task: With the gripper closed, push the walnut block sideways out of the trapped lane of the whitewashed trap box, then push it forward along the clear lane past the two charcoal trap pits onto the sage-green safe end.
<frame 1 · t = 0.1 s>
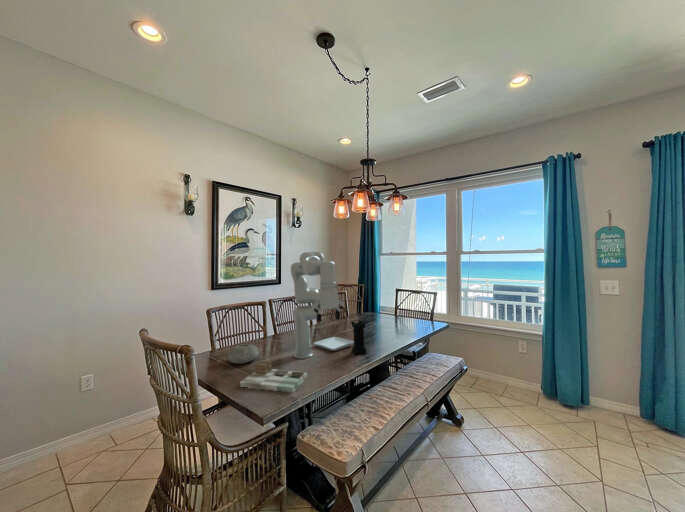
hand: (328, 320, 141), 31 cm above the table, tool pointing down, fingers open, 9 cm apart
walnut block: (263, 371, 150), point 2 cm above the table, touching trap box
trap box: (274, 381, 144), on the table
salad plate: (334, 347, 199), on the table
grey stone: (243, 361, 173), on the table
chess piece: (359, 353, 184), on the table
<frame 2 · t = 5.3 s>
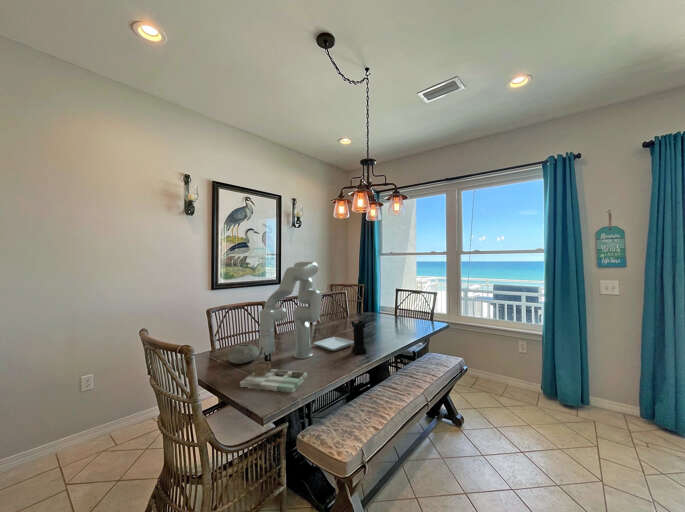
hand: (267, 365, 155), 4 cm above the table, tool pointing down, fingers closed
walnut block: (262, 372, 149), point 3 cm above the table, touching gripper
everything else where it was.
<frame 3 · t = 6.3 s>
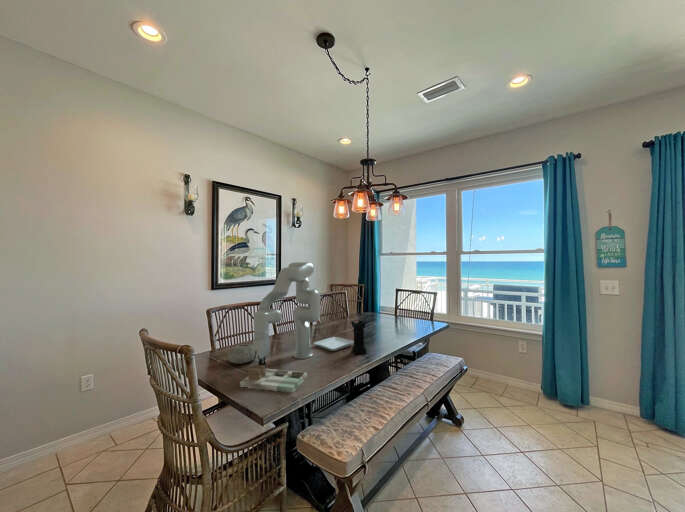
hand: (262, 369, 149), 4 cm above the table, tool pointing down, fingers closed
walnut block: (257, 377, 144), point 3 cm above the table, touching gripper, trap box
everything else where it was.
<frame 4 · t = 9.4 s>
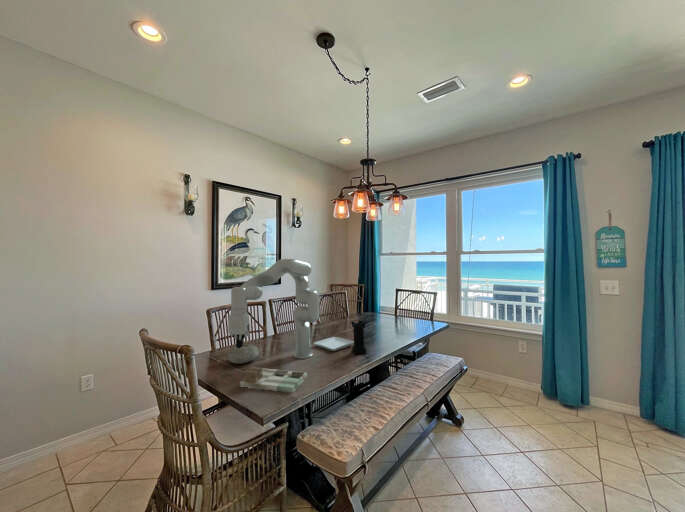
hand: (239, 347, 144), 18 cm above the table, tool pointing down, fingers closed
walnut block: (253, 379, 141), point 2 cm above the table, touching trap box
everything else where it was.
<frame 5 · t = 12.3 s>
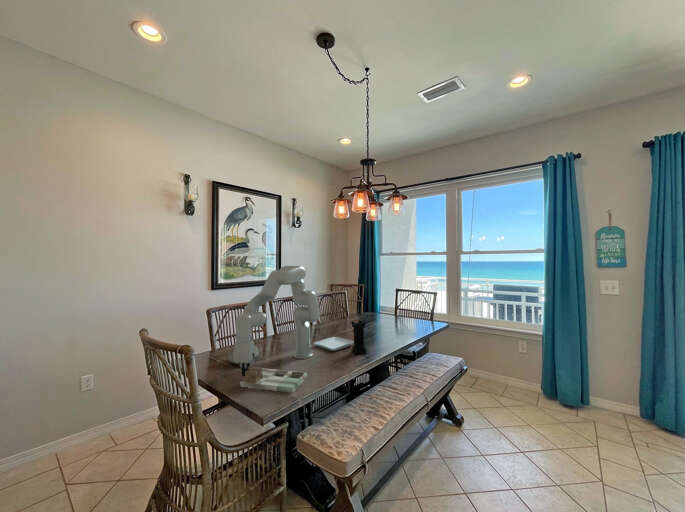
hand: (245, 375, 143), 4 cm above the table, tool pointing down, fingers closed
walnut block: (254, 379, 141), point 3 cm above the table, touching gripper
everything else where it was.
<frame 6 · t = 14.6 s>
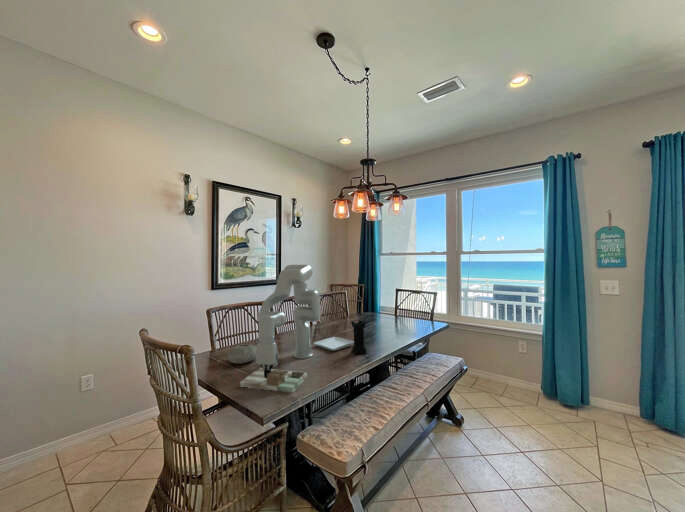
hand: (267, 377, 139), 4 cm above the table, tool pointing down, fingers closed
walnut block: (276, 382, 137), point 3 cm above the table, touching gripper
everything else where it was.
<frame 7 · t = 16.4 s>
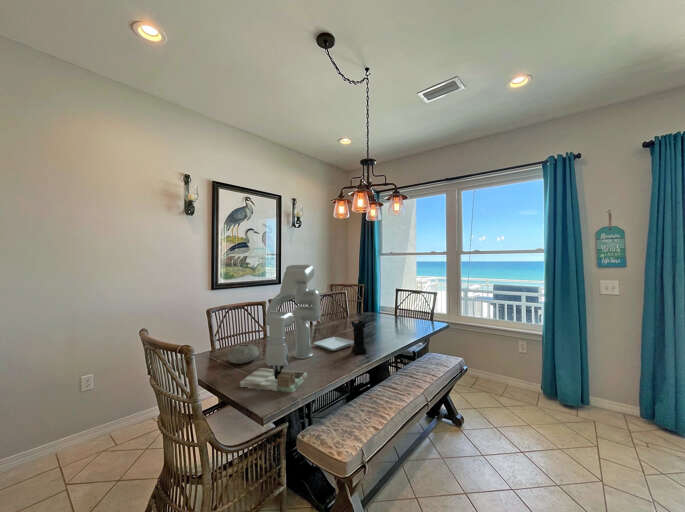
hand: (278, 378, 138), 4 cm above the table, tool pointing down, fingers closed
walnut block: (286, 384, 135), point 2 cm above the table, touching gripper, trap box
everything else where it was.
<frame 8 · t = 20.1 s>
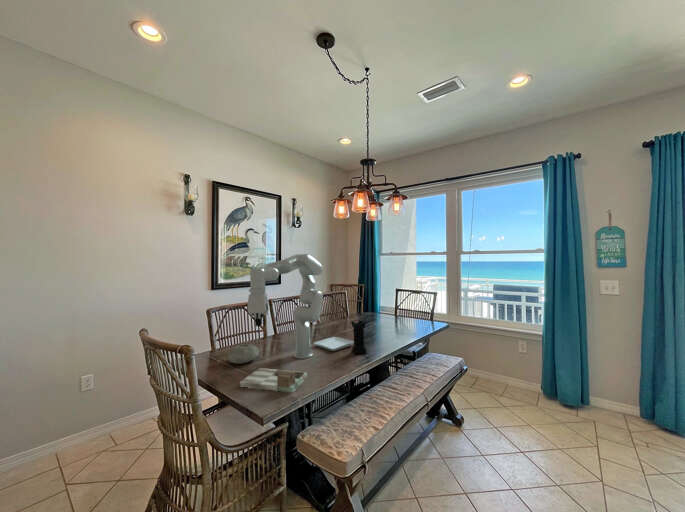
hand: (258, 325, 150), 27 cm above the table, tool pointing down, fingers closed
walnut block: (286, 384, 135), point 2 cm above the table, touching trap box
everything else where it was.
at the end: walnut block inside the target area (1.9 cm from its centre), point 2.5 cm above the table; walnut block tilted 0° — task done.
